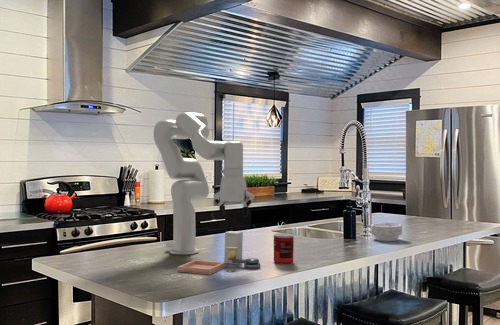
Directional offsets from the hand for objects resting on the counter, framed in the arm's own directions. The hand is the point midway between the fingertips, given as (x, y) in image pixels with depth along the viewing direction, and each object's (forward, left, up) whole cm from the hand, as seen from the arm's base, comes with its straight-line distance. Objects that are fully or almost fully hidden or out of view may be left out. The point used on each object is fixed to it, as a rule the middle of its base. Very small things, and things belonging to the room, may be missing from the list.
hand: (233, 216), depth 199 cm
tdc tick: (+5, -14, -18) cm, 24 cm away
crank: (+7, -6, -17) cm, 19 cm away
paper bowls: (+48, +79, -19) cm, 94 cm away
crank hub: (+10, -5, -18) cm, 21 cm away
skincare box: (0, 0, -19) cm, 19 cm away
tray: (-6, -15, -18) cm, 24 cm away
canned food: (+18, +8, -19) cm, 27 cm away
